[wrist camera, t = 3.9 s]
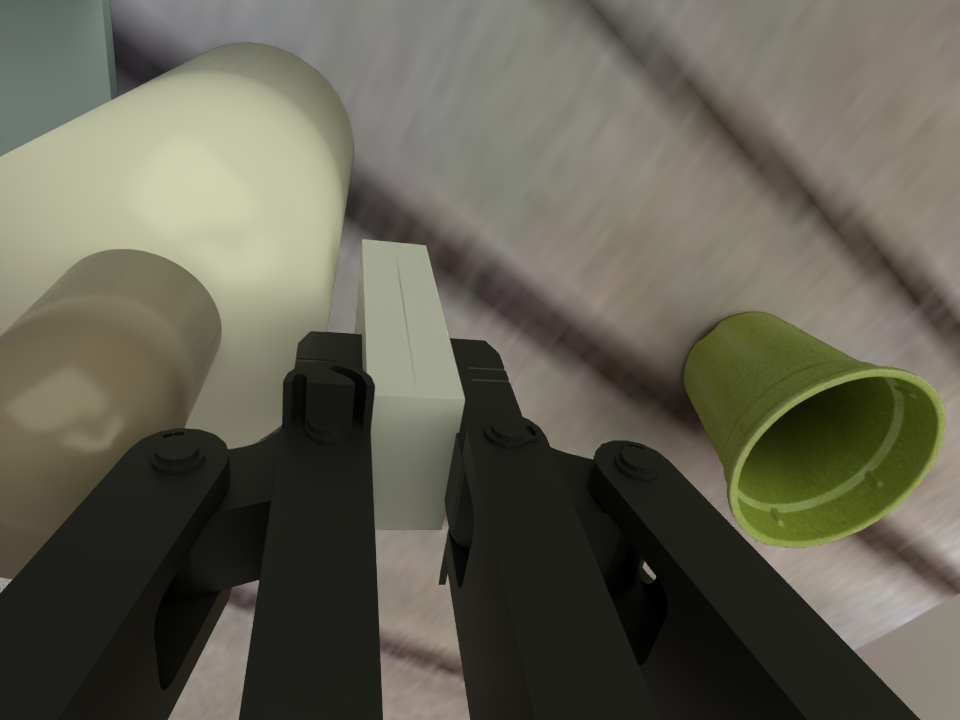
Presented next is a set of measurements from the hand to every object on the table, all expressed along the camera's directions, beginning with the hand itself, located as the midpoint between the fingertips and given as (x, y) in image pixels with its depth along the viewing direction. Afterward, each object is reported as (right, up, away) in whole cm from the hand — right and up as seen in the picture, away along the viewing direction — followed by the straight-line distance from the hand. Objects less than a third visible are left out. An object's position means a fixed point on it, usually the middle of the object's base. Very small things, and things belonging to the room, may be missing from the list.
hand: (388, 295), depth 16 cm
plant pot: (+16, -2, +19) cm, 25 cm away
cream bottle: (-6, +7, +9) cm, 13 cm away
